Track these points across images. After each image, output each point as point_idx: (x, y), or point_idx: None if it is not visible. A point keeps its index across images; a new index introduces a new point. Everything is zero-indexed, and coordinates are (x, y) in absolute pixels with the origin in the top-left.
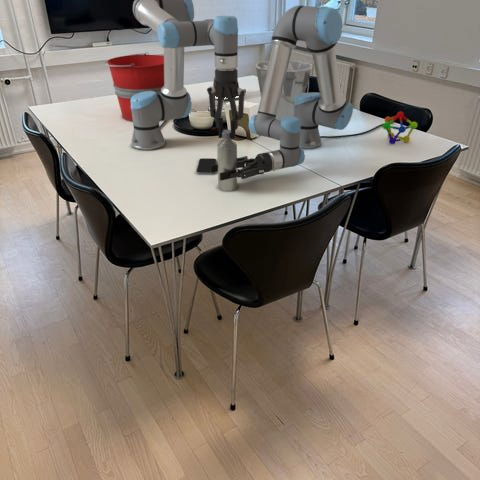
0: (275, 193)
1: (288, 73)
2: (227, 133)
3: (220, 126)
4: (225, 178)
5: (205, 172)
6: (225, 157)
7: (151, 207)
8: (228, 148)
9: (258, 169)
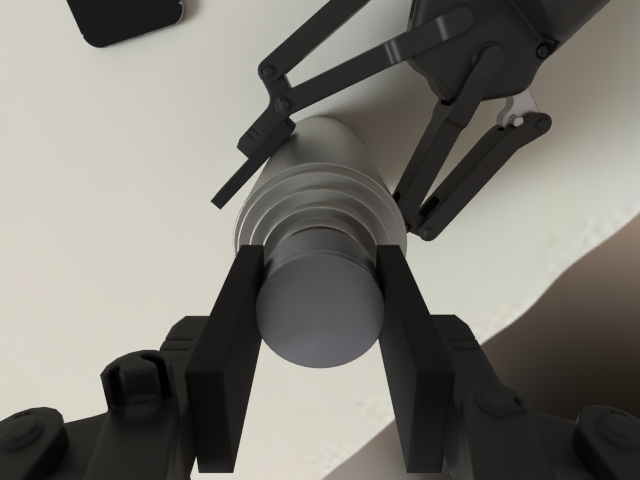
0: (562, 161)
1: None
2: (345, 362)
3: (248, 399)
4: None
5: (138, 34)
6: None
7: None
8: None
9: (514, 149)
